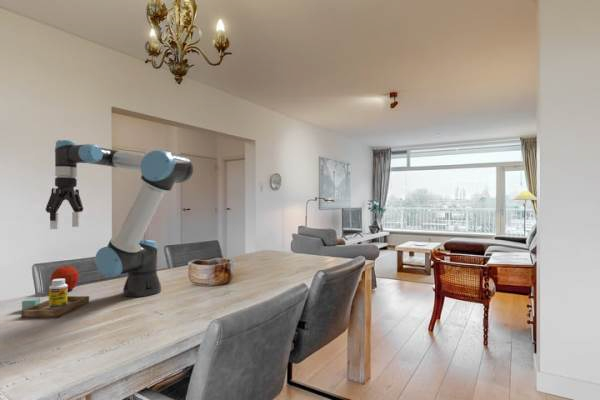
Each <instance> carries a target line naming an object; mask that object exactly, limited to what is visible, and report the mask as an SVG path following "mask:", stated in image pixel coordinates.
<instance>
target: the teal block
mask: <svg viewBox="0 0 600 400" xmlns="http://www.w3.org/2000/svg"><path fill="white" fill-rule="evenodd" d="M40 303H41V297H30V298H26V299H24V300H22V301H21V311H22V310H25V309H27V308H30V307H32V306H35V305H37V304H40Z"/></svg>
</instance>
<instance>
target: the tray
mask: <svg viewBox="0 0 600 400" xmlns="http://www.w3.org/2000/svg"><path fill="white" fill-rule="evenodd" d="M89 303H90V296H89V295H82V296H81V295H75V296H74V295H71V296H70V295H67V305H66V306H64V307H61V308H59V309H50V308H49V299H47V300H46V301H42V302H40V304H37V305H35V306H32V307H30V308H27V309H25V310H22V309H21V311H20V313H21V314H20V315H21V316H20V317H21V318H20V319H58V318H60V317H62V316H64V315H66V314H69V313H70V312H72V311H74V310H76V309H78V308H80V307H83V306H84V305H86V304H89Z"/></svg>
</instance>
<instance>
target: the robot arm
mask: <svg viewBox="0 0 600 400" xmlns="http://www.w3.org/2000/svg"><path fill="white" fill-rule="evenodd" d="M54 161H55V162H54V167H55V170H54V176H55V178H54V186H55V187H53V188H51V192H50V196H49V198H48V202H47V204H46V207H45V212H46V213H49V221H50V222H49V223H50V225H49V228H50V230H58V229H59V217H60V215H59V212H58V211H59V209H60V207H61V205H62V203H63V202H64V201H65V200H66V201H67V202H68V204H69V205H70V207H71V208H72V216H71V217H72V218H71V219H72V222H71V225H72V226H71V227H73V228H75V227H76V228H79V227H81V226H80V218H81V215H80V214H81V213H82V212H83V210H84V205H83V203H82V200H81V197H80V189H75V188H76V187H77V184H78V183H77V182H78V179H77V177H78V175H77V174H78V171H77V169H78V166H77V165H78V164H91V165H99V166H106V167H110V168H111V167H112V168H117V169H118V168H120V169H126V170H131V171H136V172H140V173H141V177H140V180H141V182H142V185H141V187H140V188H139V190H138V192H137V195H136V196H135V198H134V201H133V203H132V205H131V207H130V209H129V211H128V213H127V215H126V217H125V219H124V221H123V223H122V225H121V227H120V229H119V231H118V234H117V235H115V236H112V237H110V240H109V242H108V244H107V246H103V247H102V248H100V249H99V250H97V251H96V254H95V257H94V258H95V259H94V262H95V265H96V268H97V270H98V272H99V273H100V274H102V275H103V276H104V277H109V278H110V277H118V276H122V275H124V274H127V277H126V279H125V284H124V285H123V290H122V295H123V296H124V297H129V298H133V297H134V298H136V297H137V298H139V297H146V296H147V297H148V296H153V295H156V294H159V293H161V291H162V285H161V280H160V278H159V276H158V250H159V249H158V243H157V241H155V240H151V239H148V240H147V239H143V237H144V235H145V233H146V232H147V229H148V228H149V225H150V223H151V221H152V219H153V217H154V215H155V213H156V211H157V209H158V207H159V205H160V203H161V201H162V199H163V198H164V195H165V194H166V193H169V192H170V191H172V188H173V186H174V184H178V183H179V184H181V183H185V182H187V181H189V180H190V179H191V178H192V176H193V173H194V165H193V162H192V161H191V159H190V158H189V157H188V156H186V155H184V154H183V155H182V154H179V153H175V152H170V151H167V150H163V149H161V150H160V149H154V150H151V151H148V152H147V153H146V154H142V153H136V152H131V151H130V152H129V151H123V150H116V149H115V150H114V149H110V148H103V147H100V146H99V145H98V144H93V143H92V144H90V143H86V144H78V143H77V142H76V141H74V140H69V139H67V140H66V139H61V140H60V139H58V140H56V142H55V148H54ZM80 212H81V213H80Z"/></svg>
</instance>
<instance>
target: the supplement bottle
mask: <svg viewBox="0 0 600 400" xmlns="http://www.w3.org/2000/svg"><path fill="white" fill-rule="evenodd" d="M67 296H69V295H68V285H67V284H65V279H54V280H52V284H50V285H49V287H48V300H49V308H50V309H59V308H61V307H64V306H66V305H67Z"/></svg>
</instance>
